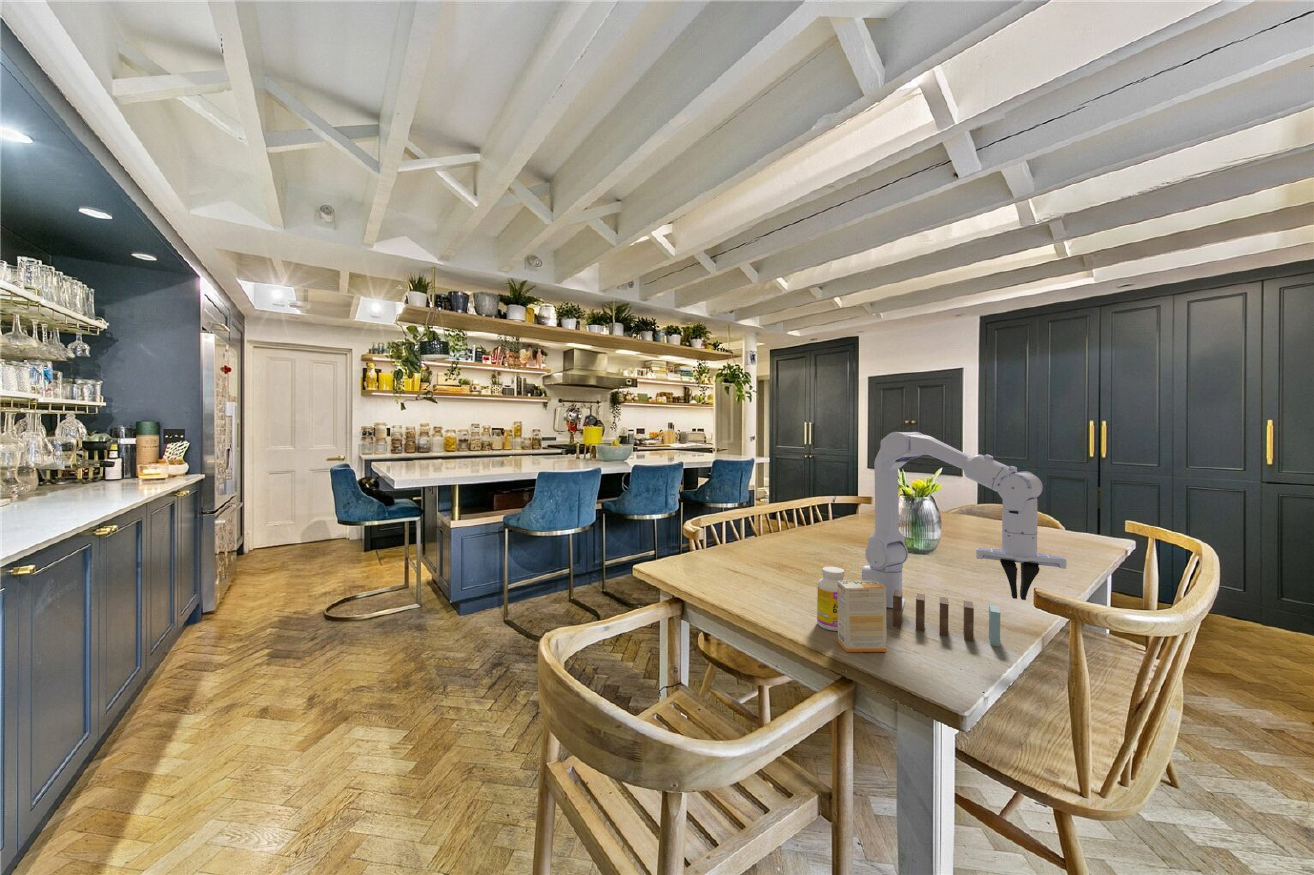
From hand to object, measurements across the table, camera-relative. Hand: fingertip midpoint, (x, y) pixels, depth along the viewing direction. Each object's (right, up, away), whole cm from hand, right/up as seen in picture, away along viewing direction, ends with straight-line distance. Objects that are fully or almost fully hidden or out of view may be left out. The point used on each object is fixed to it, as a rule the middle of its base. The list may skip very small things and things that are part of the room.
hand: (1018, 597), depth 96 cm
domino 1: (-19, -10, +11) cm, 24 cm away
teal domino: (-3, -10, +2) cm, 11 cm away
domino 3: (-11, -10, +7) cm, 16 cm away
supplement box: (-32, -10, 0) cm, 34 cm away
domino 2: (-15, -10, +9) cm, 20 cm away
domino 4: (-7, -10, +5) cm, 13 cm away
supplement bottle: (-34, -10, +10) cm, 37 cm away
